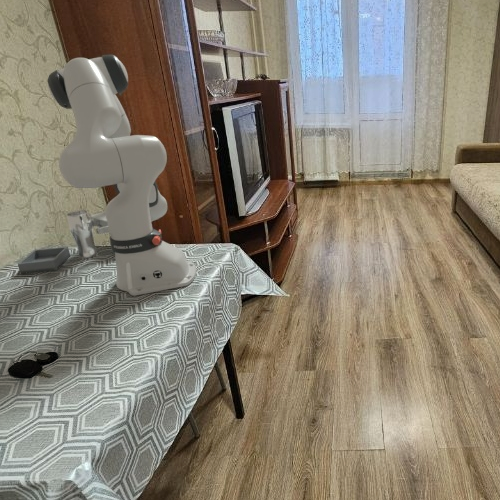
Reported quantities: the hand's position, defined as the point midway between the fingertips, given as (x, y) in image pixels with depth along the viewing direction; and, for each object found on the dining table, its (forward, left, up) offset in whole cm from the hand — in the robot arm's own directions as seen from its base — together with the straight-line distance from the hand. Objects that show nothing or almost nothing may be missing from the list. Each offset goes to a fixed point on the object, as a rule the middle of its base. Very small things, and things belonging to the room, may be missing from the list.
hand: (90, 229), depth 127 cm
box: (+14, +7, -8) cm, 18 cm away
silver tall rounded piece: (+2, +2, -9) cm, 9 cm away
